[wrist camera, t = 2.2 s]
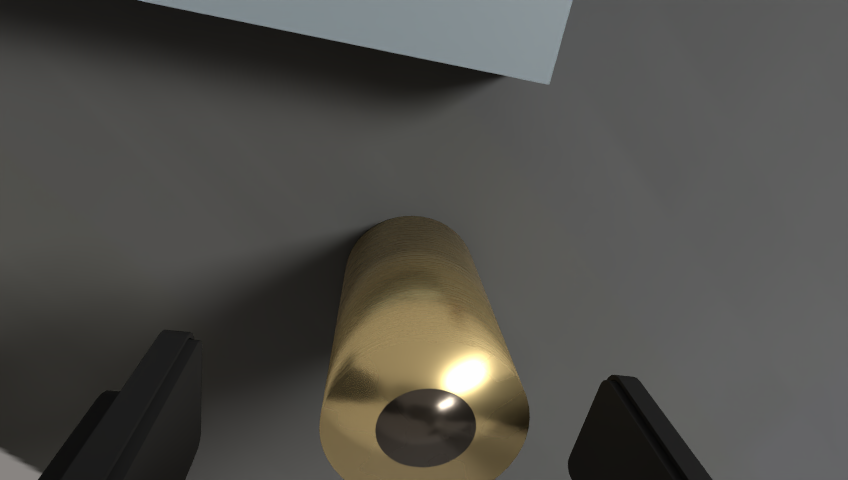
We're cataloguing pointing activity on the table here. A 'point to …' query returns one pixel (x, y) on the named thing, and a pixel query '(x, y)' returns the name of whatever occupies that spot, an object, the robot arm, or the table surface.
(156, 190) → the table surface
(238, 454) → the table surface
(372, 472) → the bushing
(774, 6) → the table surface
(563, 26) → the plate
